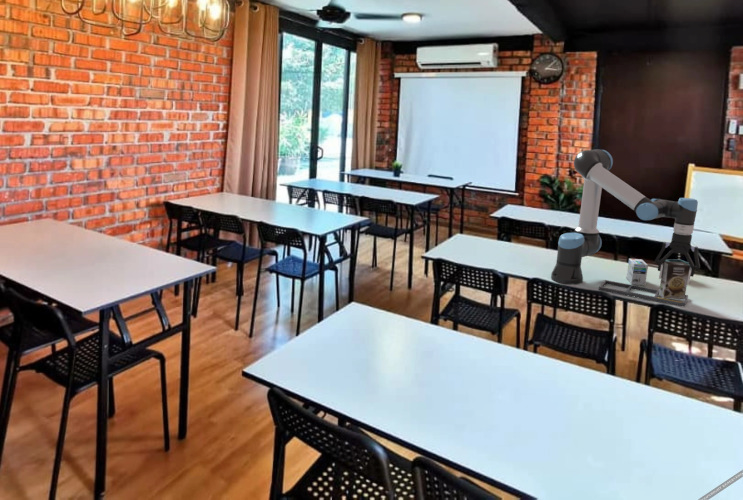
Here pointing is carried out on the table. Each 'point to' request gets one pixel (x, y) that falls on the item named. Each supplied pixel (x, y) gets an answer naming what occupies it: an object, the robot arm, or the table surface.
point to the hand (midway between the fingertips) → (673, 280)
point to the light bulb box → (637, 271)
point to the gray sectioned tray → (640, 294)
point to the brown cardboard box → (674, 280)
